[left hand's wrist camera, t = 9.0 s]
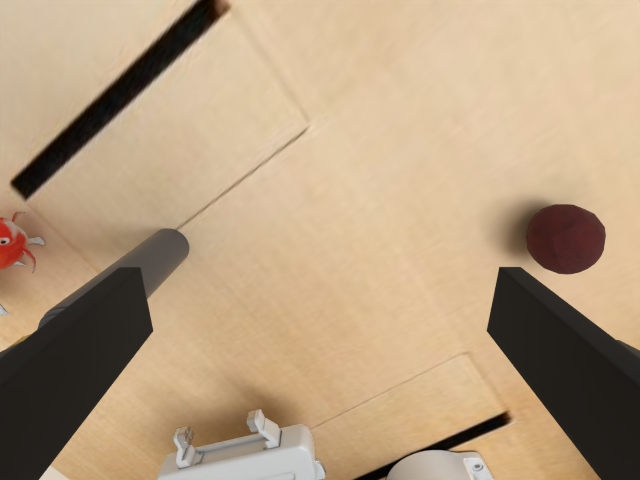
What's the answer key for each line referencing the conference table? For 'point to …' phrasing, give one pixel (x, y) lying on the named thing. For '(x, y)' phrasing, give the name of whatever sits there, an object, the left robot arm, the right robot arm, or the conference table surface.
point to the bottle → (151, 256)
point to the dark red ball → (565, 238)
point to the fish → (14, 246)
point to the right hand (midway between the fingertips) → (216, 422)
